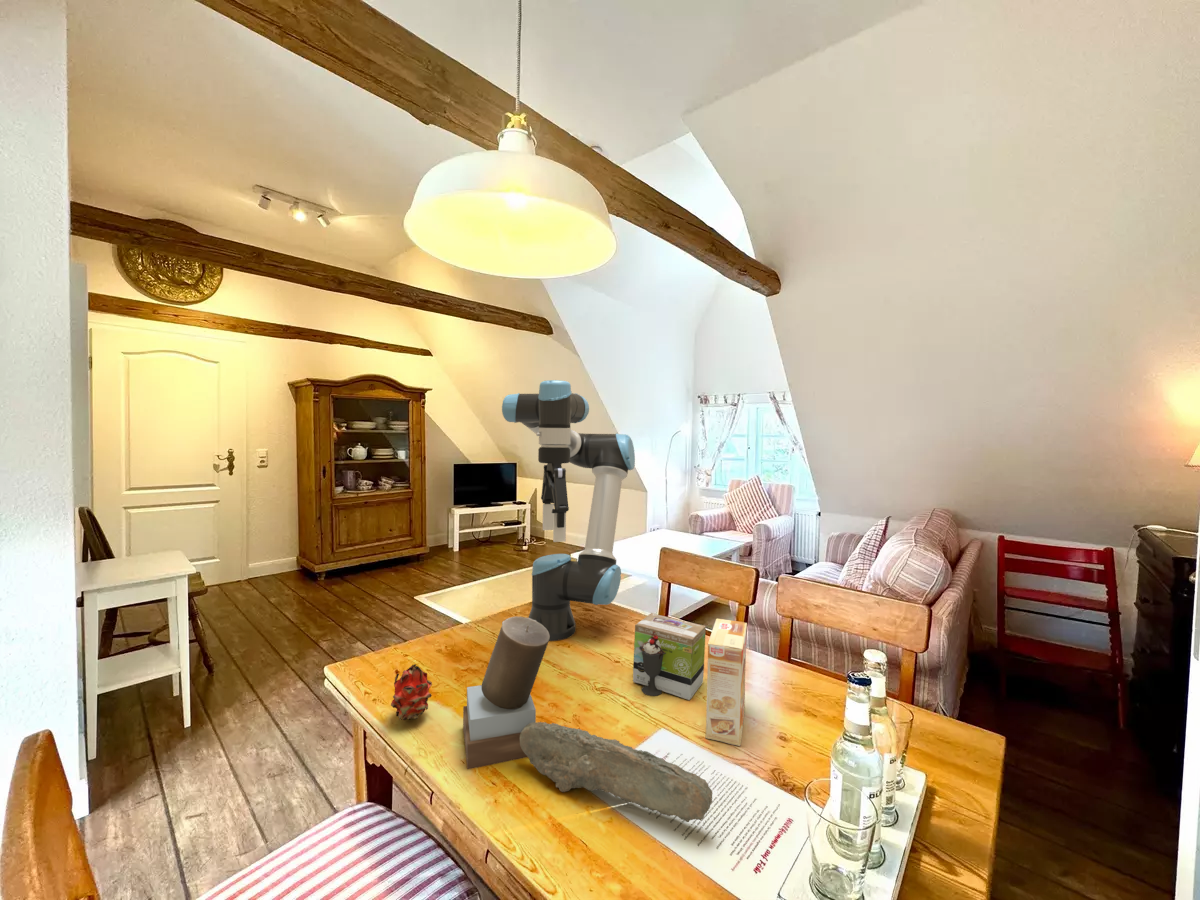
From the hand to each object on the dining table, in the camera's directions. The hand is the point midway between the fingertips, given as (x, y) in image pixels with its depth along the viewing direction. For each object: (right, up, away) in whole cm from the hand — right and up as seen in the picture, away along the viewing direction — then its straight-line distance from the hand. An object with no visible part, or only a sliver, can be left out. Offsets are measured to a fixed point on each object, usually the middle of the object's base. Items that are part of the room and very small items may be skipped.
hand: (553, 535), depth 116 cm
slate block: (-9, -33, -20) cm, 39 cm away
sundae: (+23, -37, 0) cm, 44 cm away
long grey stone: (+12, -38, -34) cm, 53 cm away
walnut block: (-9, -38, -20) cm, 43 cm away
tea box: (+28, -37, +3) cm, 46 cm away
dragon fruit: (-29, -37, -13) cm, 49 cm away
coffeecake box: (+38, -38, -12) cm, 55 cm away
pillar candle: (-8, -27, -20) cm, 35 cm away
